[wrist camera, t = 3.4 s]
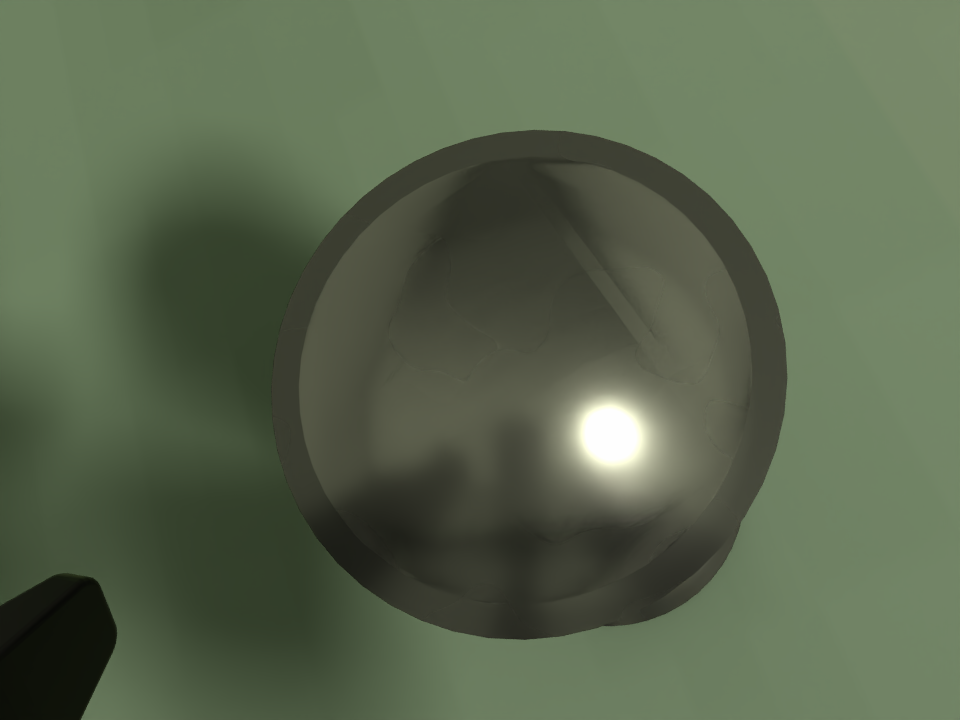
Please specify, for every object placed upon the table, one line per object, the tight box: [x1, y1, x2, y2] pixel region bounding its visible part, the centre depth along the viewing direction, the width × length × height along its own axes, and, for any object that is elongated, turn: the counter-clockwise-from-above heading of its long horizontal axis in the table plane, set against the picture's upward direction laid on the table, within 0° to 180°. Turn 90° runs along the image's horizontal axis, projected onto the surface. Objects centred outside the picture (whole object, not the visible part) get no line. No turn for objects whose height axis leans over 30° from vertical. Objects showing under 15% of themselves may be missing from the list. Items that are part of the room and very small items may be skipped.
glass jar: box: [271, 130, 787, 640], centre depth 14 cm, size 6×6×11 cm
